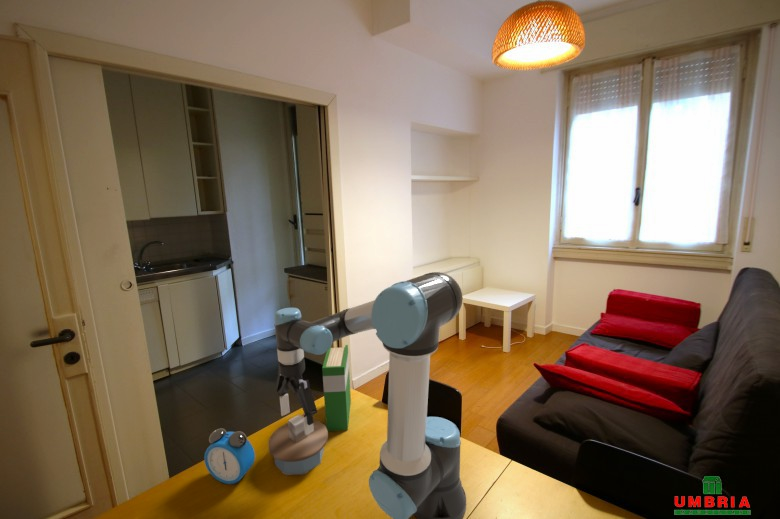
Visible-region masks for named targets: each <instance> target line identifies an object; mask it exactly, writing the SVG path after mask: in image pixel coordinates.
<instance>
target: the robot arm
mask: <svg viewBox="0 0 780 519" xmlns="http://www.w3.org/2000/svg"><path fill="white" fill-rule="evenodd" d="M462 306H463V292H462V289H461V287H460V285H459V283H458V282H457V281H456V279H455V278H453V277H452V276H450V275H449V274H447V273H444V272H440V271H439V272H437V271H432V272H429V273H427V272H426V273H425V274H423V275H420V276H417V277H414V278H411V279H407V280H403V281H399V282H396V283H394V284H391V285H390V286H388V287H387V288H384V289H382V291H381V292H380V293H378V295H377V296H376V298H375V299H374V300H371V301H369V302H366V303H362V304H358V305H356V306H353V307H348V308H346V309H343V310H341V311H338V312H336V313H333V314H331V315H327V316H325V317H322V318H319V319H316V320H313V321H308V320H304V319H302V313H301V310H300V309H299V308H298V307H285V308H282V309H279V310H277V311H276V312H275V313H274V331H275V339H276V352H277V353H276V354H277V361H278V369H277V378H276V382H275V386H274V391H275V392H276V393H277V395H278V397H279V405H280V415H281V416H282V417H284V416H285V415H288V414H290V413H291V409H290V399H289V396H290V395H289V390H290V389H291V391H292V392H293V394H294V395H296V397H297V399H298V401H299V404H300V407H301V409H302V411H303V414H302V417H303V419H304V431H305V435H308V434H309V433H311V432H313V431H314V426H313V420H314V415H316V414H317V413H318V409H317V406H316V403H315V399H314V396H313V393H312V391H311V387H310V385H311V384H310V381H309V379H306V380H304V379H303V374H304V372H305V371H306V362H305V361H306V360H305V352H306V353H308V354H313V355H316V356H317V355H318V356H320V355H323V354H326V353H327V350H328V349H329V348H330V347H331V348H332V344H333V343H334V342H336V341H339V340H340V339H344V338H346V337H348V336H351V335H355V334H358V333H363V332H367V331H371V330H375V331H376V332H375V335H376V337H377V338H378V340H379V341H380V342H381V343H382V347H383V348H384V349H385V350H386V351H387V352H388V353H389V357H388V358H389V359H388V360H389V361H388V388H387V390H388V396H387V427H386V429H387V430H386V441H385V442H383V444H382V445H381V447H380V452H379V466H378V467H377V469H374V470H373V471H372V473H371V474H370V476H369V479H368V487H369V490H370V492H371V495H372V498H373V500H374V501H375V502H376V504H377V505H378V507H379V508H380V509H381V510H382V511H383V512H384V513H385V514H386V515H388V516H389V517H390V518H392V519H410V517H412V516H413V515H414V516H415V518H416V519H462V518H463V517H464V516H465V514H466V510H467V494H466V491H465V489H464V486H463V485H462V481H461V477H460V473H461V445H462V441H461V433H460V430H459V428H458V427H457V425H456V424H455V423H454V422H452V421H450V420H448V419H446V418H444V417H439V416H428V404H429V403H428V399H429V386H430V385H429V384H430V369H431V368H430V366H431V365H430V364H431V355H433V354H434V353H435V352H436V351H437V350H438V348H439V342H440V341H439V339H440V329H441V327H442V326H444V325H447V324H448V323H449V322H451V321H452V320H453V319H455V318H456V316H458V314H459V312H460V310H462Z"/></svg>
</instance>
